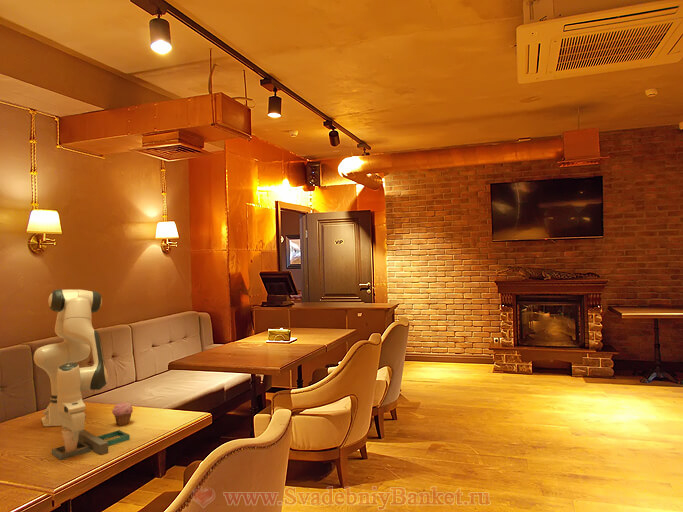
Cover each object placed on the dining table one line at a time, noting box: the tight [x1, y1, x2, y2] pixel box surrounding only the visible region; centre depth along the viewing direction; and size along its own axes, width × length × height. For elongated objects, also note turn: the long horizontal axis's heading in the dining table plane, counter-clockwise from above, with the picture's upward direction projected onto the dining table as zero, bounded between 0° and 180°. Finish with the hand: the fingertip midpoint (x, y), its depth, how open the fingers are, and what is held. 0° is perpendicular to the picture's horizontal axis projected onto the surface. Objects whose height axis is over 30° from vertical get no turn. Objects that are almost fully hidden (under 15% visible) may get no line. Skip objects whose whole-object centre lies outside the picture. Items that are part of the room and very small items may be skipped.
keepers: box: [51, 429, 131, 461], centre depth 202 cm, size 10×27×2 cm, turn 137°
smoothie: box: [61, 428, 78, 453], centre depth 196 cm, size 6×6×14 cm
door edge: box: [77, 429, 109, 456], centre depth 202 cm, size 26×3×4 cm, turn 47°
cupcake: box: [111, 402, 134, 426], centre depth 230 cm, size 9×9×10 cm
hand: (71, 438), depth 196 cm, fingers open, 8 cm apart
